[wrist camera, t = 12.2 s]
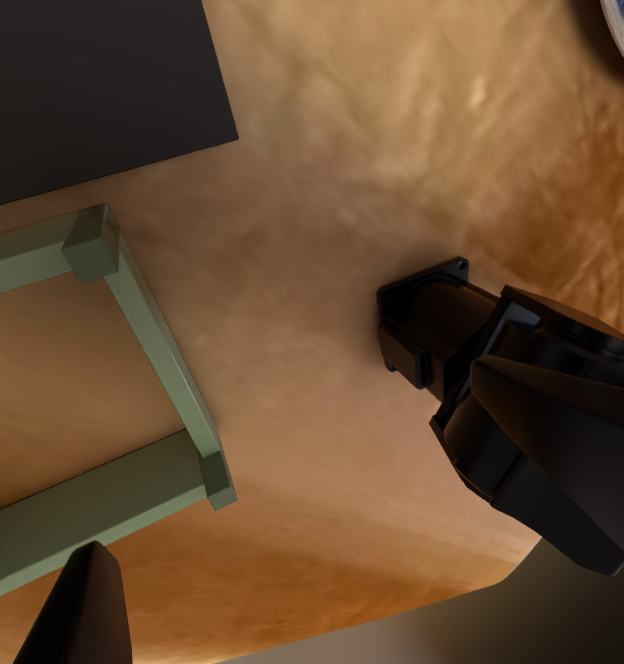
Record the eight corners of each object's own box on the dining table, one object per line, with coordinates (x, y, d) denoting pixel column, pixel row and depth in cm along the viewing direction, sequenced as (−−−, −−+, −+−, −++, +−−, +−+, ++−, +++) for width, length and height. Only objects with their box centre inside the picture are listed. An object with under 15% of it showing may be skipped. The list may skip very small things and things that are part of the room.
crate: (107, 202, 16) (101, 236, 12) (217, 428, 24) (238, 500, 20) (-317, 324, 13) (-537, 432, 9) (-34, 539, 21) (-76, 653, 17)
